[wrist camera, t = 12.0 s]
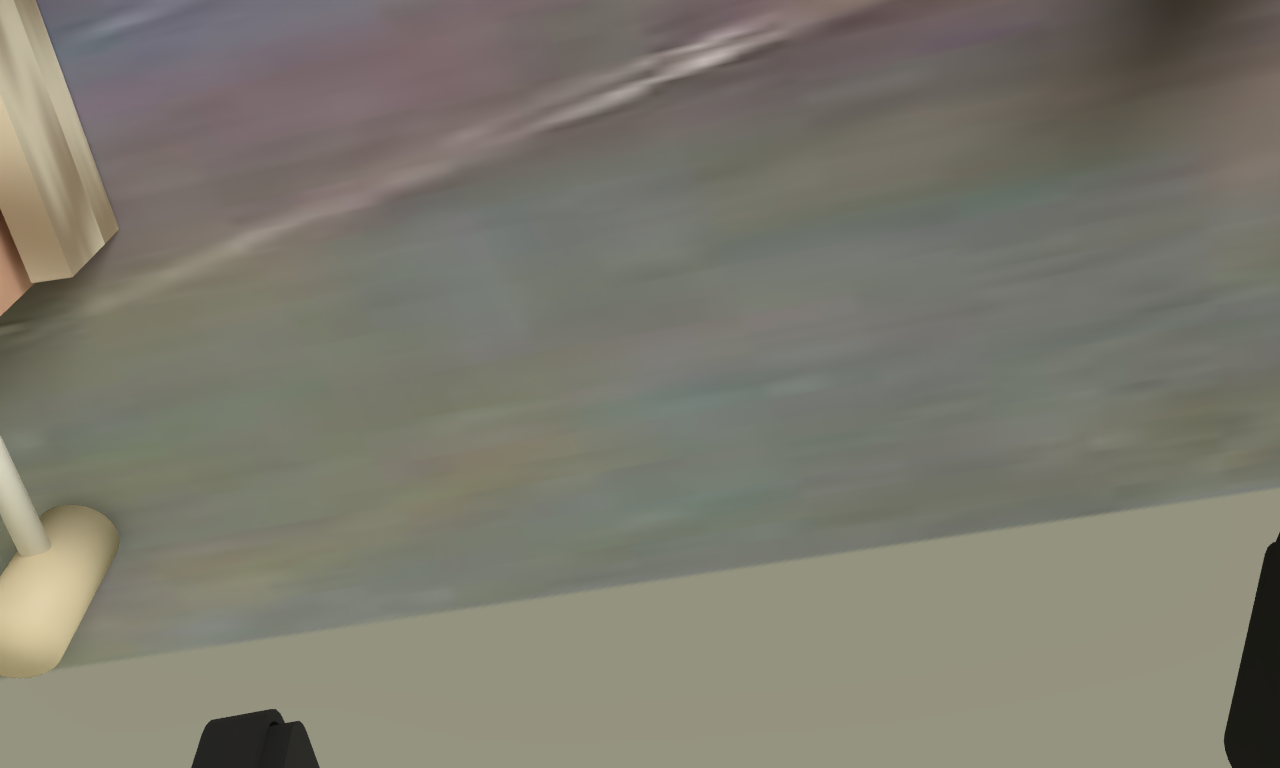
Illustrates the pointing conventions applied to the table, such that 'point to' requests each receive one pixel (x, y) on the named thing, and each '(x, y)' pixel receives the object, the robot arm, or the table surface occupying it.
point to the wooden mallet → (43, 545)
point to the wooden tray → (45, 155)
